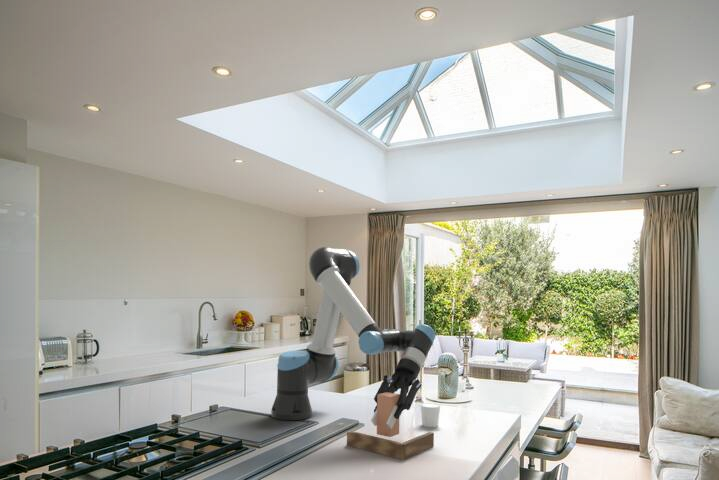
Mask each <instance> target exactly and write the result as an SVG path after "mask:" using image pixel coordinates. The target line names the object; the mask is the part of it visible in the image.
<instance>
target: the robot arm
mask: <svg viewBox="0 0 719 480" xmlns="http://www.w3.org/2000/svg"><path fill="white" fill-rule="evenodd" d="M308 261H309V262H308V268H309V272H310V274H311V276H312V277H313V280H314V281H315V282H316V283H317V285H318V286H321V287H323V289H322V293H321V299H320V302H319V306H318V307H319V308H318V312H317V316H316V320H315V321H316V322H315V327H314V332H313V336H312V341H311V343H309V344H308V345H306V346H307V347H306V349H305V350H298V349H297V350H291V351H289V350H288V351H286V352H282V353H281V354H279V357H278V361H277V377H276V379H277V383H276V385H277V386H276V395H275V399H274V401H273V404H272V407H271V411H270V417H271V418H273V419H277V420H282V421H302V420H308V419H309V418H312V416H313V408H312V404H311V401H310V398H309V385H312V384H319V383H325V382H327V381H331V380H332V379H333V378H334V377H335V376H336V374H337V373H338V370H339V360H338V356H336V355H337V354H336V352H337V351H336V349H335V348H334V344H335V338H336V334H337V331H338V330H337V329H338V325H339V320H340V316H341V315H343V316H344V318H345V320H346V321H347V322H348V324H349V325H350V326H351V328H352V330H353V331H354V332H355V334H356V335H357V336H358V346H359V347H358V348H359V349H360V351H361V352H362V353H363V354H365V355H378V354H383V353H392V352H403V353H402V354H401V357H400V359H399V361H398V363H397V364H396V367H395V371H394V372H393V373H392V375H391V376H390V375H389V376H388V374H385V375H384V376H383V380H382V383H381V384H380V386H379V388H378V390H377V392H376V394H375V395H374V397H373V400H374V402H375V404H376V406H375V407H374V409H373V416H372V417H371V420H370V421H371V423H372V424H373V426H375V427H377V394H381V393H385V392H389V393H395V392H398V390H400V391H399V394H400V396H399V401H398V404H397V405H398V407H397V406H394V408H393V410H392V413H391V415H390V417H389V419H388V421H387V423H386V424H387V426H388V427H389V429H392V428H393V426H394V423H395V421H396V419H399V420H400V417H401V415H402V413H403V411H405V410H407V411H409V410H411V407H412V405H413V403H414V401H415V400H414V399H415V398H416V395H417V394H418V391H419V389H421V387H422V386H423V385H422V383H421V381H420V379H417V378H418V376H419V374H420V372H421V369H422V367H423V366H424V362H425V361H426V359H427V356H428V354H429V352H430V350H431V348H432V347H433V345H434V341H435V338H436V332H435V329H433V328H432V327H431V326H430V325H427V324H425V323H421V324H418V325H417V326H416V327H415V328H414V330H407V329H396V328H385V329H383V330H381V329H380V327H379V325H378V324H377V323H376V321H375V320H374V319H373V318H372V316H371V315H370V313H369V312H368V311H367V310H366V308H365V307H364V305H363V304H362V303H361V301H360V300H359V298H358V296H356V294H355V293H354V292H353V291H352V289H351V288H350V286H351V282H352V279H354V278H356V277H357V275H358V274H359V271H360V267H361V266H360V260H359V258H358V256H357V254H356V253H355V252H353V251H352V250H349V249H347V248H339V247H338V248H337V247H329V246H322V247H319V248H317V249H316V250H315V251H313V252H312V254H311V256H310V258H309V260H308Z"/></svg>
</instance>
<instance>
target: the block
mask: <svg viewBox="0 0 719 480" xmlns="http://www.w3.org/2000/svg"><path fill="white" fill-rule="evenodd" d="M376 394H377V393H376ZM399 396H400V393H395V392H394V393H389V392H385V393H381V394H377V403H376V405H377V426H376V435H379V436H384V437H387V438H391V437H395V436H397V435H400V418H399V419H396V421H395V423H394V426H393V428H392V429H389V427H388V426H387V424H386V423H387V421H388V419H389V417H390V415H391V413H392V410H393V408H394V406H397V407H398V405H397V404H398V401H399Z"/></svg>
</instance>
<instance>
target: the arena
mask: <svg viewBox="0 0 719 480" xmlns="http://www.w3.org/2000/svg"><path fill="white" fill-rule="evenodd" d="M434 434H435V433H434V432H433V431H428V432H425V433H423V434H421V435H417V436H416V437H413V438H411V439H408V440H406V441H403V442H399V441H395V440H391V439H387V438H383V437H379V436H375V435H372V434H371V435H370V434H366V433H361V432H357V431H353V430H348V431H346V446H349V447H354V448H357V449H361V450H363V451H368V452H372V453H376V454H380V455H384V456H388V457H391V458H395V459H398V460H399V459H400V460H402V461H403V460H406V459H408V458H411V457H412V456H415V455H417V454H419V453H421V452H423V451H426V450H428V449H430V448H432V447H434V445H435V443H434V442H435V438H434V437H435V435H434Z"/></svg>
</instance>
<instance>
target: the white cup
mask: <svg viewBox="0 0 719 480" xmlns="http://www.w3.org/2000/svg"><path fill="white" fill-rule="evenodd" d="M440 408H441V406H440V404H436V403H422V404H420V411H421V425H422V426H423V427H426V428H437V427H439V421H440V420H439V419H440V410H441V409H440Z"/></svg>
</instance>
